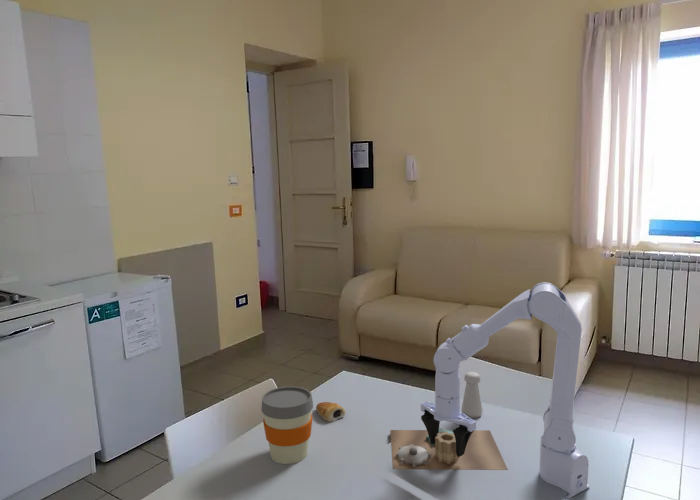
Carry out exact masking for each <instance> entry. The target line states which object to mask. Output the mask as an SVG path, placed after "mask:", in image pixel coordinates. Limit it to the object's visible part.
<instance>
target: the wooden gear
mask: <svg viewBox="0 0 700 500" xmlns="http://www.w3.org/2000/svg"><path fill="white" fill-rule="evenodd" d="M435 458H438V461H439V462H447V464H450V462H457V461H458V458H459V457H458V456H457V454H456V440H455V435H454V433H447V432H444V433H438V434H437V437H435Z"/></svg>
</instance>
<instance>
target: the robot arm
mask: <svg viewBox="0 0 700 500" xmlns="http://www.w3.org/2000/svg"><path fill="white" fill-rule="evenodd" d="M532 317H535V318H536V319H538V320H539V321H541V322H543V323H545V324H547V325H549V326H550V327H551V328H552V329H553V330H554V331H555V332H556V334H557V335H556V342H555V344H556V345H555V351H554V362H553V371H552V381H551V390H550V399H549V404H548V407H547V408H546V409H545V411H544V413H543V418H542V419H543V420H542V421H543V434H542V435H541V437H540V448H539V450H540V451H539V452H540V453H539V473H538V474H539V477H540V478H541V479H542V480H543V481H544V482H546V483H547V484H551V485H552V486H554V487H555V486H556V487H558V488H560V489H562V490H563V491H564V492H566V493H567V494H566V495H565V496H564V497H563V498H564V499H565V500H567V499H570V498H572V497H574V496H576V495H578V494H579V493H581V492H583V491H585V490H587V489H589V488H590V484H588V483H589V482H588V480H589V477H588V476H589V458H588V457H587V455H585V454H584V453H583V452H581V451H580V449H578V446H577V443H576V440H577V437H576V434H575V430H574V429H575V427H574V416H573V415H574V413H573V412H574V401H575V399H574V398H575V391H576V383H577V373H578V366H579V365H578V364H579V356H580V347H581V339H582V332H583V331H582V330H583V329H582V324H581V322H580V321H581V320H580V319H579V317H578V315H577V314H576V312H575V310H574V309H573V307H572V306H571V304H570V302H569V300H568V299H567V296H566V295H565V293H564V292H563V291H562V290H560V289H559V288H558V287H557V286H556V285H554V284H552V283H550V282H545V281H544V282H539V283H537V284H535V285H534V286H533V287H532V288H531V289H530V288H529V289H526V290H525V291H523V292H521V293H520V294H518V295H517V296H516V297H514V298H513V299H512V300H510V301H509V302H508V303H507V304H506V305H504V306H502V307H501V309H499V310H497V311H496V312H495V313H494V314H493V315H491V316H490V317H489V318H488V319H486V320H485V321H484V322H482V323H481V324H479V323H471V324H470V325H468V324H465V325H464V326H462V327H461V331H460V332H459V333H457V334H456V335H454V336H453V337H451V338H450V337H448V338H447V339H446V340H445V342H443V343H441V344H440V345H439V346H438V347H437V349H436V351H435V353H434V356H433V365H434V367H435V377H434V378H435V379H434V380H435V382H434V385H435V386H434V387H435V388H434V389H435V390H434V395H435V397H434V403H433V402H429V401H427V400H426V401H423V402H421V403H420V412H423V415H422V414H421V416H420V419H421V421H422V423H423V425H424V426H425V430H427V432H428V435H429V439H430V443H431V444H435V437H437V434H438V433H439V428H440V423H441V422H442V421H443V422H449V423H453V424H455V425H458V427H455V428H454V429H452V430H453V433H454V435H455V440H456V454H457V456H458V457H460V456H462V455H463V454H464V452H465V448H466V445H467V442H468V440H469V438H470V436H471V434H472V433H473V431H474V430H476V429H477V421H476V420H474V418H473V419H472V418H470V417H468V416H466V415H465V414H464V413H462V410H461V374H460V373H461V372H460V371H461V369H460V367H461V365H460V364H461V362H464V361H467V360H469V358H471V357H473V356H474V355H476V354H477V353H478V352H479V351H481V350H483V349H484V348H486V347H487V346H488V345H489V342H490V341H489V339H490V337H491V336H493V335H494V334H495V333H498V332H499V331H501V330H502V329H504V328H505V327H507V326H509V325H510V324H511V323H513V322H515V321H516V320H518V319H519V320H520V319H521V320H530V321H531V320H532Z"/></svg>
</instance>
